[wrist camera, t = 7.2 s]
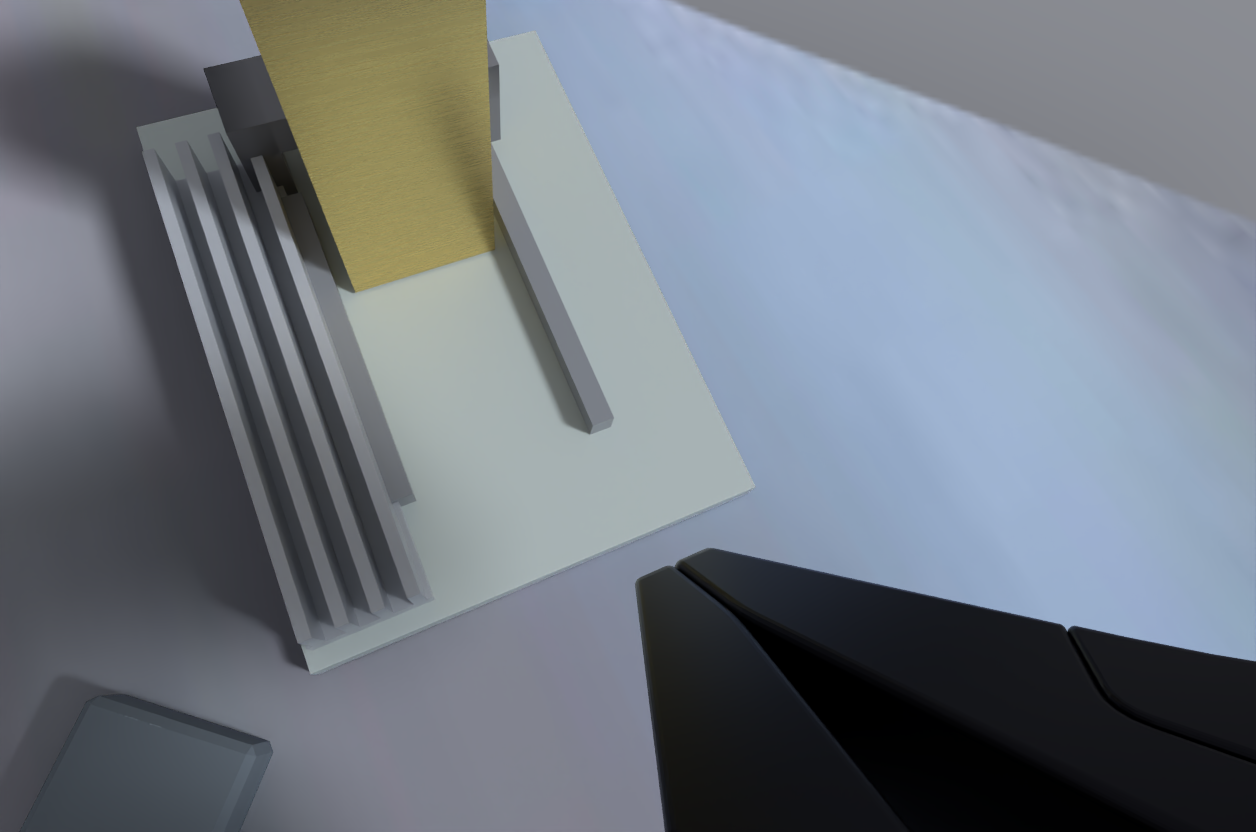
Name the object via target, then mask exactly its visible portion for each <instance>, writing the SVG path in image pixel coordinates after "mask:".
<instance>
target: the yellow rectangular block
mask: <svg viewBox="0 0 1256 832" xmlns="http://www.w3.org/2000/svg"><path fill="white" fill-rule="evenodd" d="M240 3H241V5H242V8H243V10H244V13H245V16H246V18H247V21H248V23H249V26H250V28H251V31H252V33H253V36H254V38H255V41H256V43H257V46H258V48H259V51H260V53H261V56H262V58H263V61H264V63H265V66H266V68H267V71H268V73H269V76H270V79H271V81H272V84H273V86H274V89H275V91H276V94H277V96H278V99H279V101H280V104H281V106H282V109H283V111H284V114H285V116H286V119H287V121H288V124H289V126H290V129H291V131H292V134H293V137H294V139H295V142H296V144H297V147H298V149H299V152H300V154H301V157H302V159H303V162H304V164H305V167H306V169H307V172H308V174H309V177H310V179H311V182H312V184H313V187H314V189H315V192H316V195H317V197H318V200H319V202H320V205H321V207H322V210H323V212H324V215H325V217H326V220H327V222H328V225H329V227H330V230H331V232H332V235H333V237H334V240H335V242H336V245H337V247H338V250H339V253H340V255H341V258H342V260H343V263H344V265H345V268H346V270H347V273H348V275H349V278H350V280H351V283H352V285H353V288H354V290H355V293H357V292H360V291H363V290H366V289H369V288H373V287H376V286H379V285H382V284H386V283H389V282H392V281H395V280H399V279H402V278H405V277H408V276H411V275H415V274H418V273H421V272H424V271H428V270H431V269H434V268H437V267H441V266H444V265H447V264H450V263H454V262H457V261H460V260H463V259H466V258H470V257H473V256H476V255H479V254H483V253H486V252H489V251H492V250H495V236H494V210H493V184H492V157H491V131H490V105H489V79H488V52H487V26H486V0H240Z"/></svg>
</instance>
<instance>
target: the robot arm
mask: <svg viewBox="0 0 1256 832" xmlns="http://www.w3.org/2000/svg"><path fill="white" fill-rule="evenodd" d="M635 588H636V597H637V605H638V613H639V622H640V630H641V638H642V646H643V655H644V663H645V671H646V679H647V688H648V696H649V704H650V712H651V721H652V729H653V737H654V745H655V754H656V762H657V770H658V778H659V787H660V795H661V803H662V811H663V820H664V828H665V832H1256V661H1250V660H1244V659H1238V658H1232V657H1226V656H1220V655H1214V654H1209V653H1204V652H1199V651H1194V650H1189V649H1184V648H1179V647H1174V646H1169V645H1164V644H1159V643H1154V642H1149V641H1144V640H1139V639H1134V638H1129V637H1124V636H1119V635H1115V634H1110V633H1105V632H1101V631H1096V630H1092V629H1087V628H1083V627H1078V626H1072V627H1070V628H1069V629H1068V632H1067V630H1066V629H1065V627H1064V626H1063V625H1061V624H1057V623H1053V622H1048V621H1043V620H1039V619H1034V618H1030V617H1025V616H1021V615H1016V614H1011V613H1007V612H1002V611H998V610H993V609H989V608H984V607H980V606H975V605H970V604H966V603H961V602H957V601H952V600H948V599H943V598H938V597H934V596H929V595H925V594H920V593H916V592H911V591H907V590H902V589H897V588H893V587H888V586H884V585H879V584H875V583H870V582H865V581H861V580H856V579H852V578H847V577H843V576H838V575H834V574H829V573H824V572H820V571H815V570H811V569H806V568H802V567H797V566H792V565H788V564H783V563H779V562H774V561H770V560H765V559H761V558H756V557H751V556H747V555H742V554H738V553H733V552H729V551H724V550H719V549H715V548H707V549H704V550H701V551H699V552H697V553H695V554H692V555H690V556H688V557H686V558H683V559H681V560H679V561H678V562H677V563H676V565H675V567H673V566H665V567H663V568H661V569H658V570H656V571H654V572H651V573H649V574H647V575H645V576H642V577H640V578H639V579H638V580H637V581H636V583H635Z"/></svg>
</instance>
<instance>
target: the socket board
mask: <svg viewBox="0 0 1256 832" xmlns="http://www.w3.org/2000/svg"><path fill="white" fill-rule="evenodd" d="M487 52H488V79H489V105H490V131H491V157H492V184H493V210H494V236H495V250H492V251H489V252H486V253H483V254H479V255H476V256H473V257H470V258H466V259H463V260H460V261H457V262H454V263H450V264H447V265H444V266H441V267H437V268H434V269H431V270H428V271H424V272H421V273H418V274H415V275H411V276H408V277H405V278H402V279H399V280H395V281H392V282H389V283H386V284H382V285H379V286H376V287H373V288H369V289H366V290H363V291H360V292H357V293H355V290H354V288H353V285H352V283H351V280H350V278H349V275H348V273H347V270H346V268H345V265H344V263H343V260H342V258H341V255H340V253H339V250H338V247H337V245H336V242H335V240H334V237H333V235H332V232H331V230H330V227H329V225H328V222H327V220H326V217H325V215H324V212H323V210H322V207H321V205H320V202H319V200H318V197H317V195H316V192H315V189H314V187H313V184H312V182H311V179H310V177H309V174H308V172H307V169H306V167H305V164H304V162H303V159H302V157H301V154H300V152H299V149H298V147H297V144H296V142H295V139H294V137H293V134H292V131H291V129H290V126H289V124H288V121H287V119H286V116H285V114H284V111H283V109H282V106H281V104H280V101H279V99H278V96H277V94H276V91H275V89H274V86H273V84H272V81H271V79H270V76H269V73H268V71H267V68H266V66H265V63H264V61H263V58H262V56H261V55H260V56H256V57H252V58H247V59H243V60H239V61H234V62H230V63H226V64H221V65H217V66H213V67H208V68H204V72H205V75H206V78H207V80H208V83H209V86H210V89H211V92H212V95H213V98H214V100H215V103H216V106H217V108H213V109H209V110H205V111H201V112H197V113H193V114H189V115H184V116H180V117H176V118H172V119H168V120H164V121H160V122H156V123H151V124H147V125H143V126H139V127H136V128H137V132H138V135H139V138H140V141H141V144H142V147H143V150H144V151H141V152H142V155H143V158H144V161H145V164H146V167H147V171H148V174H149V177H150V180H151V183H152V186H153V189H154V193H155V196H156V199H157V202H158V205H159V208H160V212H161V215H162V218H163V221H164V224H165V227H166V230H167V234H168V237H169V240H170V243H171V246H172V249H173V252H174V256H175V259H176V262H177V265H178V268H179V271H180V274H181V278H182V281H183V284H184V287H185V290H186V293H187V297H188V300H189V303H190V306H191V309H192V312H193V315H194V319H195V322H196V325H197V328H198V331H199V334H200V337H201V341H202V344H203V347H204V350H205V353H206V356H207V359H208V363H209V366H210V369H211V372H212V375H213V378H214V382H215V385H216V388H217V391H218V394H219V397H220V400H221V404H222V407H223V410H224V413H225V416H226V419H227V422H228V426H229V429H230V432H231V435H232V438H233V441H234V445H235V448H236V451H237V454H238V457H239V460H240V463H241V467H242V470H243V473H244V476H245V479H246V482H247V485H248V489H249V492H250V495H251V498H252V501H253V504H254V507H255V511H256V514H257V517H258V520H259V523H260V526H261V530H262V533H263V536H264V539H265V542H266V545H267V548H268V552H269V555H270V558H271V561H272V564H273V567H274V570H275V574H276V577H277V580H278V583H279V586H280V589H281V592H282V596H283V599H284V602H285V605H286V608H287V611H288V615H289V618H290V621H291V624H292V627H293V630H294V633H295V637H296V640H297V643H298V644H301V647H302V650H303V653H304V656H305V659H306V662H307V665H308V668H309V672H310V674H312V675H319V674H321V673H324V672H326V671H328V670H331V669H333V668H335V667H338V666H340V665H343V664H345V663H347V662H350V661H352V660H354V659H357V658H359V657H362V656H364V655H366V654H369V653H371V652H373V651H376V650H378V649H381V648H383V647H385V646H388V645H390V644H392V643H395V642H397V641H400V640H402V639H404V638H407V637H409V636H411V635H414V634H416V633H418V632H421V631H423V630H426V629H428V628H430V627H433V626H435V625H437V624H440V623H442V622H445V621H447V620H449V619H452V618H454V617H456V616H459V615H461V614H464V613H466V612H468V611H471V610H473V609H475V608H478V607H480V606H482V605H485V604H487V603H490V602H492V601H494V600H497V599H499V598H501V597H504V596H506V595H509V594H511V593H513V592H516V591H518V590H520V589H523V588H525V587H528V586H530V585H532V584H535V583H537V582H539V581H542V580H544V579H547V578H549V577H551V576H554V575H556V574H558V573H561V572H563V571H565V570H568V569H570V568H573V567H575V566H577V565H580V564H582V563H584V562H587V561H589V560H592V559H594V558H596V557H599V556H601V555H603V554H606V553H608V552H611V551H613V550H615V549H618V548H620V547H622V546H625V545H627V544H630V543H632V542H634V541H637V540H639V539H641V538H644V537H646V536H648V535H651V534H653V533H656V532H658V531H660V530H663V529H665V528H667V527H670V526H672V525H675V524H677V523H679V522H682V521H684V520H686V519H689V518H691V517H694V516H696V515H698V514H701V513H703V512H705V511H708V510H710V509H712V508H715V507H717V506H720V505H722V504H724V503H727V502H729V501H731V500H734V499H736V498H739V497H741V496H743V495H746V494H748V493H749V492H750V491H751V490H753V489H754V488H755V485H754V483H753V481H752V478H751V476H750V474H749V472H748V470H747V468H746V466H745V464H744V462H743V460H742V458H741V456H740V454H739V452H738V449H737V447H736V445H735V443H734V441H733V439H732V437H731V435H730V433H729V431H728V429H727V427H726V425H725V423H724V420H723V418H722V416H721V414H720V412H719V410H718V408H717V406H716V404H715V402H714V400H713V398H712V396H711V394H710V391H709V389H708V387H707V385H706V383H705V381H704V379H703V377H702V375H701V373H700V371H699V369H698V367H697V365H696V362H695V360H694V358H693V356H692V354H691V352H690V350H689V348H688V346H687V344H686V342H685V340H684V338H683V336H682V333H681V331H680V329H679V327H678V325H677V323H676V321H675V319H674V317H673V315H672V313H671V311H670V309H669V307H668V305H667V302H666V300H665V298H664V296H663V294H662V292H661V290H660V288H659V286H658V284H657V282H656V280H655V278H654V276H653V273H652V271H651V269H650V267H649V265H648V263H647V261H646V259H645V257H644V255H643V253H642V251H641V249H640V247H639V244H638V242H637V240H636V238H635V236H634V234H633V232H632V230H631V228H630V226H629V224H628V222H627V220H626V218H625V215H624V213H623V211H622V209H621V207H620V205H619V203H618V201H617V199H616V197H615V195H614V193H613V191H612V189H611V186H610V184H609V182H608V180H607V178H606V176H605V174H604V172H603V170H602V168H601V166H600V164H599V162H598V160H597V157H596V155H595V153H594V151H593V149H592V147H591V145H590V143H589V141H588V139H587V137H586V135H585V133H584V131H583V129H582V126H581V124H580V122H579V120H578V118H577V116H576V114H575V112H574V110H573V108H572V106H571V104H570V102H569V100H568V97H567V95H566V93H565V91H564V89H563V87H562V85H561V83H560V81H559V79H558V77H557V75H556V73H555V71H554V68H553V66H552V64H551V62H550V60H549V58H548V56H547V54H546V52H545V50H544V48H543V46H542V44H541V42H540V39H539V37H538V35H537V33H536V31H531V32H527V33H523V34H519V35H515V36H510V37H506V38H502V39H498V40H494V41H490V42H488V40H487Z"/></svg>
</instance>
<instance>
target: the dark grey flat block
mask: <svg viewBox="0 0 1256 832" xmlns="http://www.w3.org/2000/svg"><path fill="white" fill-rule="evenodd" d="M272 754H273V750H272V747H271V745H270V742H269V741H267V740H264V739H261V738H258V737H255V736H252V735H249V734H245V733H242V732H239V731H236V730H233V729H230V728H227V727H224V726H221V725H218V724H214V723H211V722H208V721H205V720H202V719H199V718H196V717H193V716H190V715H186V714H183V713H180V712H177V711H174V710H171V709H168V708H165V707H162V706H159V705H155V704H152V703H149V702H146V701H143V700H140V699H137V698H134V697H131V696H127V695H105V696H98V697H96V698H93V699H91V700H89V701H87V702H86V704H85V706H84V708H83V709H82V711H81V713H80V715H79V717H78V719H77V721H76V723H75V725H74V727H73V729H72V731H71V733H70V735H69V737H68V739H67V741H66V743H65V744H64V746H63V748H62V750H61V752H60V754H59V756H58V758H57V760H56V762H55V764H54V766H53V768H52V770H51V772H50V774H49V776H48V778H47V780H46V781H45V783H44V785H43V787H42V789H41V791H40V793H39V795H38V797H37V799H36V801H35V803H34V805H33V807H32V809H31V811H30V813H29V815H28V816H27V818H26V820H25V822H24V824H23V826H22V828H21V830H20V832H239V831H240V829H241V826H242V824H243V822H244V819H245V817H246V815H247V812H248V810H249V808H250V805H251V803H252V801H253V798H254V796H255V793H256V791H257V789H258V786H259V784H260V782H261V779H262V777H263V775H264V772H265V770H266V768H267V765H268V763H269V761H270V758H271V756H272Z"/></svg>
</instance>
